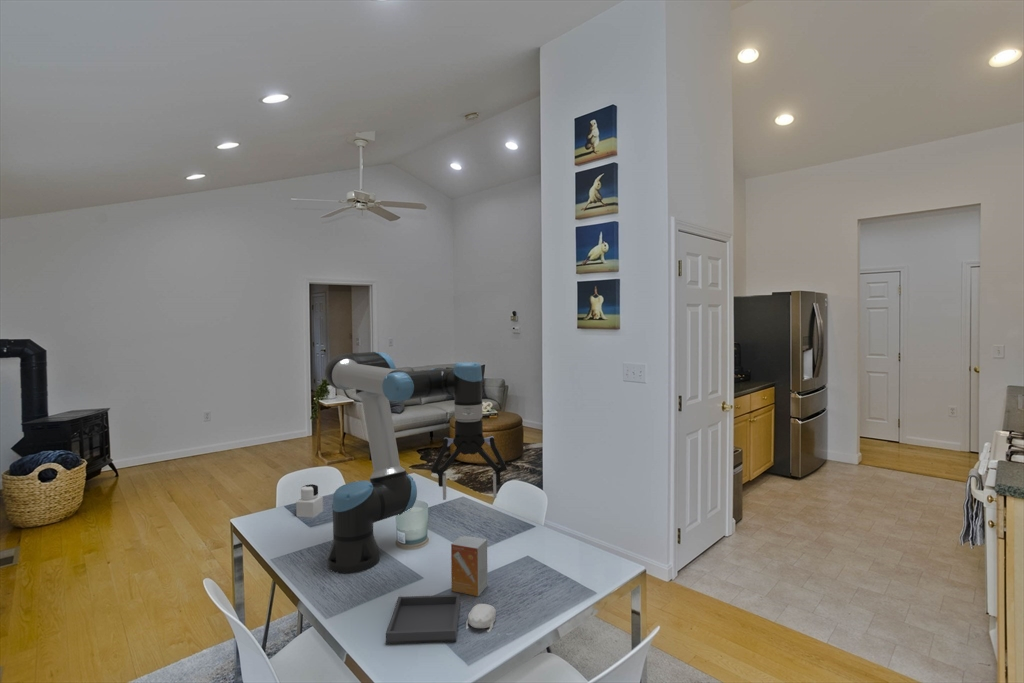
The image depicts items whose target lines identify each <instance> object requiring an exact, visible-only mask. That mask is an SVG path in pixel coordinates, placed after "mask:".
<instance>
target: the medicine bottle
mask: <svg viewBox="0 0 1024 683" xmlns="http://www.w3.org/2000/svg"><path fill="white" fill-rule="evenodd" d="M295 510H296V511H295V513H296V517H298V518H313V519H314V518H315V517H317V516H318V515H319V514H320V515H321V513H322V512H324V496H322V495H319V486H318V485H316V484H307V485H306V484H305V485H303V486H302V487H301V488H300V499H298V500H296V502H295Z"/></svg>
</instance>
